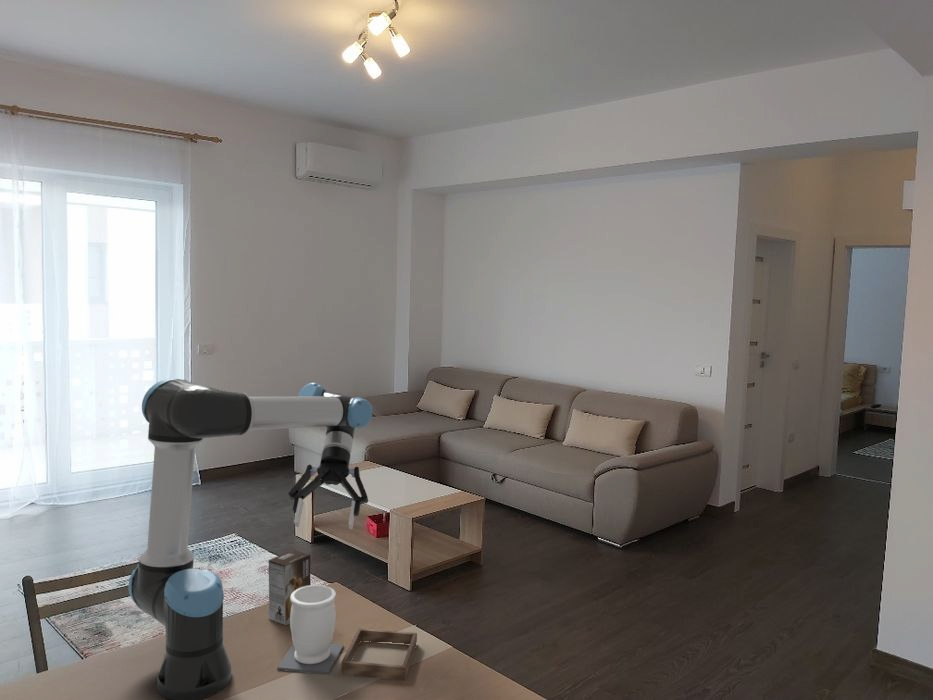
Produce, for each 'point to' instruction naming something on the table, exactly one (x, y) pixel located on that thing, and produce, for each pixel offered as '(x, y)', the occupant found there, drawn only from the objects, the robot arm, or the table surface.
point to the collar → (373, 668)
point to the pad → (320, 668)
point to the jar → (312, 622)
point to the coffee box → (286, 582)
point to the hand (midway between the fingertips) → (323, 525)
